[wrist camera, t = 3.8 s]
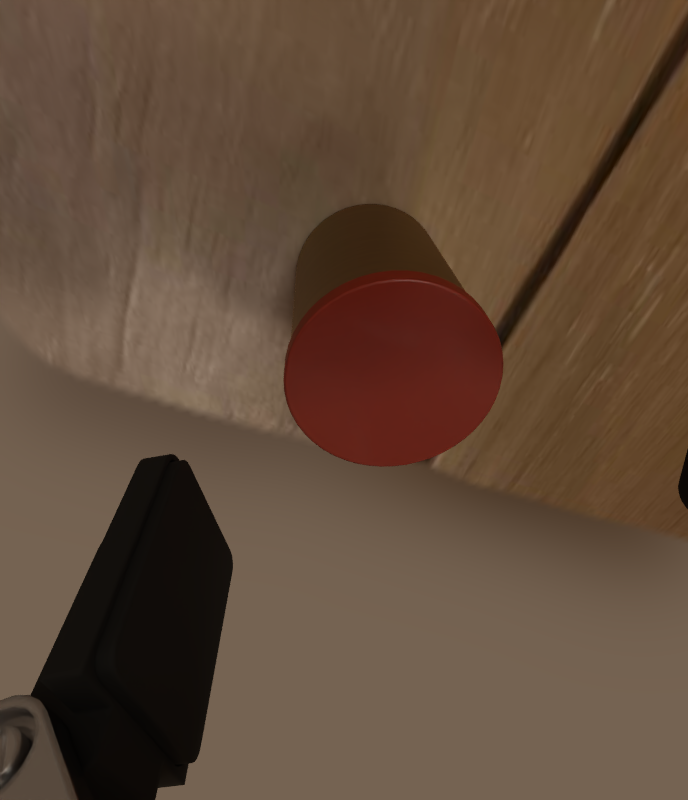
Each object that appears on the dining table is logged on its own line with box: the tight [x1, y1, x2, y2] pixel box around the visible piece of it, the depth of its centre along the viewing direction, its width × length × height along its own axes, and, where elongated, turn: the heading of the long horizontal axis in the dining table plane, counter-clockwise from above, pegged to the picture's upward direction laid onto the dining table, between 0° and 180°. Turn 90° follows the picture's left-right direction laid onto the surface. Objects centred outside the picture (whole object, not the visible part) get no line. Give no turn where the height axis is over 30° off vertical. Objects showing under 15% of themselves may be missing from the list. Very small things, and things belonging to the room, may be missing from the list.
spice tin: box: [284, 204, 503, 466], centre depth 15 cm, size 5×5×7 cm
